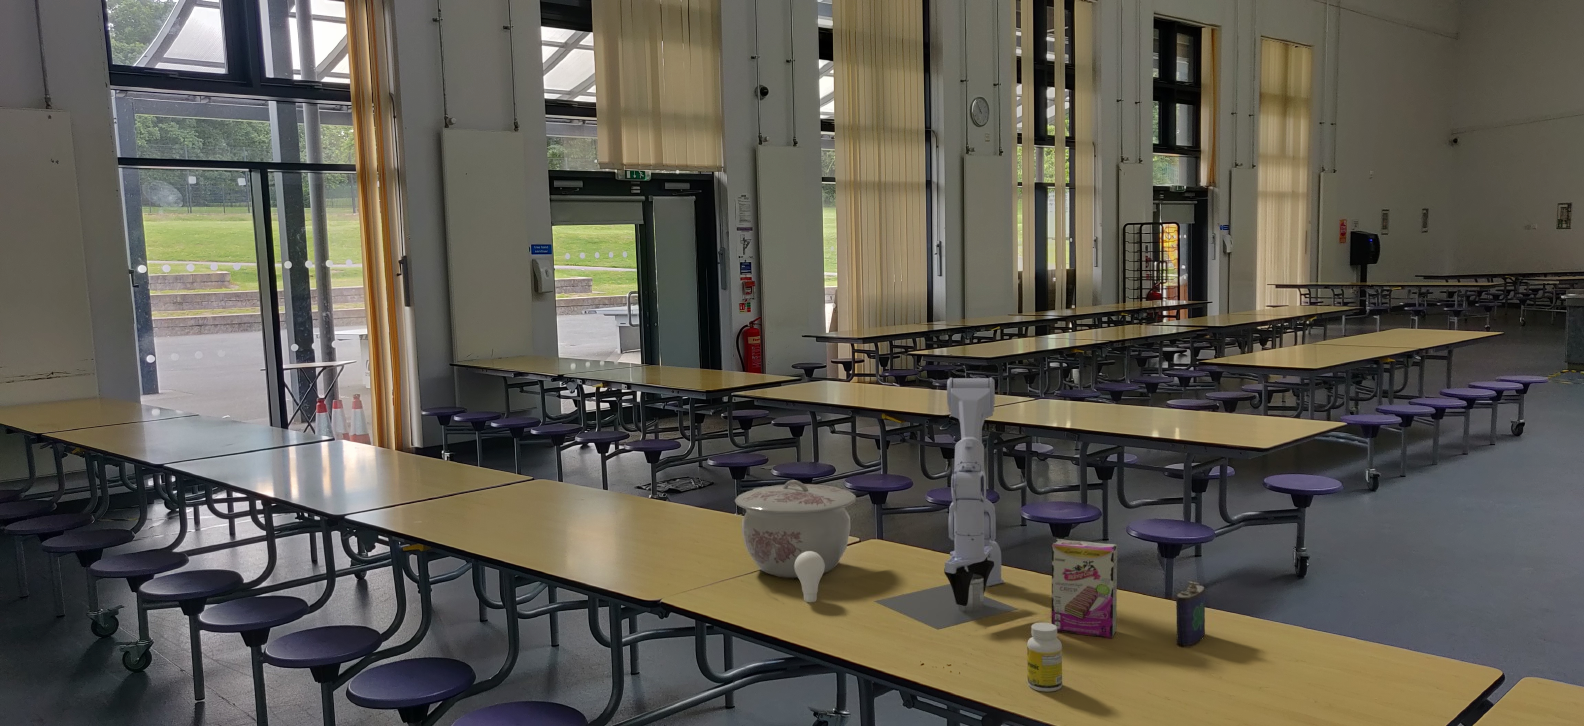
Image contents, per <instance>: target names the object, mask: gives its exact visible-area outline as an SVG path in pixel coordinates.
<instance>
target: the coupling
mask: <svg viewBox="0 0 1584 726" xmlns="http://www.w3.org/2000/svg"><path fill="white" fill-rule="evenodd" d="M984 596H985V592H984V586H983V576H981V575H978V574H973V577H972V579H971V582H970V587H969V597H968V603H967V605H966V606H962V605H958V604H956V601H955V605H956V609H958V610H960V611H964V612H977V611H981V610H983V609H984Z"/></svg>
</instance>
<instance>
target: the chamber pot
mask: <svg viewBox="0 0 1584 726" xmlns="http://www.w3.org/2000/svg"><path fill="white" fill-rule="evenodd" d="M856 498H857V496H856V495H855V493H853V492H851V491H850V490H847V489H843V488H840V487H836V486H833V485H832V486H831V485H826V484H825V485H824V484H812V483H802V482H801V481H800V480H795V479H790V480H787V481H786V483H784V484H776V485H771V486H770V485H769V486H762V487H759V488H758V487H756V488H752V489H751V490H748V491H746V492H742V493H741V494H738V496H737V497H736V498H735V499H734V502H735V504H736V505H737V506H738V507H740V508H743V510H744V509H745V514H744V516H743V517H742V520H741V533H742V538H743V541H744V546H745V549H746V550H747V552H748V554H749V555H750V557H751V559H752V561H754V563H755V565H756V567H757V568H759V570H760V571H761V572H764V573H766V574H769V575H771V576H774V577H778V578H785V579H799V578H798V576H797V574H796V572H795V569H794V565H795V561H796V559H797V557H798V556H799V555H800V554H802V553H804V552H806V551H813V552H816V553H817V554H819V555H820V556H821V557H822V559H823V561H824V564H825V569H824V572H823V574H825V573H827V572H830V571H831V570H833V569H834V568H835V567H836V566H837V565H838V564H839V562H840V560H841V558H842V556H843V555H844V553H845V552H846V550H847V547H848V544H849V542H848V541H849V538H850V531H851V516H850V514H849V513H848V511H847V510H846V507H849V506H850V505H851V504H853V503H855V502H856V500H857V499H856Z"/></svg>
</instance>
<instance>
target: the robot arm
mask: <svg viewBox="0 0 1584 726" xmlns="http://www.w3.org/2000/svg"><path fill="white" fill-rule="evenodd" d="M995 386H996V385H995V379H993V377H989V378H987V377H986V378H985V377H984V378H983V377H981V378H980V377H979V378H977V377H976V378H975V377H973V378H969V377H968V378H965V377H964V378H963V377H962V378H961V377H960V378H958V377H957V378H953V377H949V378H948V379H947V383H946V393H947V394H946V399H947V400H946V401H947V402H946V403H947V405H948V406H947V407H948V412H949V414H950V416H951V417H953V418H956V419H958V421H959V425H960V438H961V439H960V440H959V441H957V442H956V443H955V445H954V464H953V465H954V466H953V467H954V468H953V473H952V475H951V481H950V483H951V485H950V486H951V487H950V489H951V491H950V493H951V498H952V502H951V503H950V505H949V511H948V512H949V513H948V538H949V539H950V540H951V541H954V550H953V551H950V552H949V556H950V558H949V559H948V560H946V561H945V562H944V570H943V571H944V572H943V573H944V576H945V577H946V578H947V580H948V582H949V584H951V587H952V590H953V593H954V597H955V601H956V604H958V605H962V606H966V605H967V603H968V597H969V587H970V582H971V579H972V577H973V574H978V575H981V576H983V586H984V593H985V591H986V587H992V586H996V585H1000V584H1003V583H1005V580H1004V579H1002V551H1001V548H1000V545H999V544H998V542H996V540H995V539H996V538H997V536H996V534H997V533H996V532H997V530H996V529H997V528H996V507H995V505H994V503H992V502H991V501H990V500H989V499H987V497H986V496H987V475H986V471H985V446H984V444H983V441H982V438H983V436H982V434H983V433H982V432H983V430H982V429H983V426H984V423H985V420H986V419H988V418H991V417H993V416H994V412H995V403H996V402H995V400H996V399H995V398H996V397H995V394H996V393H995Z"/></svg>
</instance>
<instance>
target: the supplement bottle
mask: <svg viewBox="0 0 1584 726" xmlns="http://www.w3.org/2000/svg"><path fill="white" fill-rule="evenodd" d="M1057 637H1058V631H1057V627H1056V626H1055V625H1054V624H1051V622H1050V623H1049V622H1035V623H1033V624H1032V625H1031V637H1030V638H1029V639H1028V640H1027V644H1026V645H1027V646H1026V647H1027V648H1026V650H1027V651H1026V652H1027V653H1026V657H1027V658H1026V659H1027V660H1026V661H1027V662H1026V663H1027V684H1028V686H1029V687H1030V688H1031V689H1033V690H1035V691H1038V692H1043V693H1044V692H1046V693H1049V692H1055V691H1058V690H1061V688H1062V686H1063V645H1062V642H1061V640H1060V639H1058V638H1057Z"/></svg>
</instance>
